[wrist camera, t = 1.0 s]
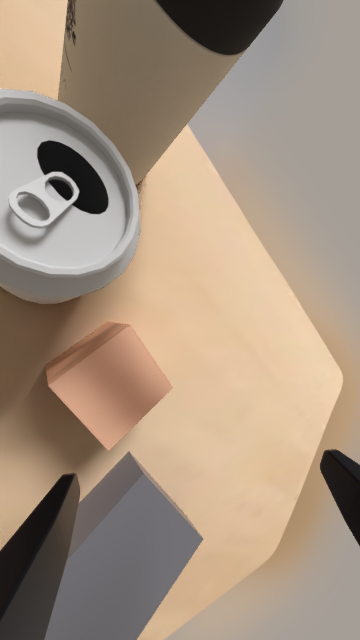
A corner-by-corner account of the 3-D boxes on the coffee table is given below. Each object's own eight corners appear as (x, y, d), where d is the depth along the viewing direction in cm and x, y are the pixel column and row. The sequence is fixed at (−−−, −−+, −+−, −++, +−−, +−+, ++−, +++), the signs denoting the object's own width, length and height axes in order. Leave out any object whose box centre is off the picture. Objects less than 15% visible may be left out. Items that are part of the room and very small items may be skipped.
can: (112, 260, 21) (185, 211, 11) (51, 323, 18) (70, 338, 8) (39, 187, 18) (43, 19, 8) (-47, 251, 15) (-210, 132, 5)
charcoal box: (100, 618, 22) (112, 675, 18) (16, 564, 18) (11, 623, 15) (181, 509, 26) (203, 539, 23) (127, 449, 23) (143, 473, 19)
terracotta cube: (90, 416, 20) (108, 451, 15) (44, 365, 18) (48, 385, 13) (142, 370, 23) (173, 387, 18) (107, 321, 21) (130, 324, 16)
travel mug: (160, 144, 23) (403, -185, 8) (127, 208, 21) (352, -44, 6) (83, 68, 19) (268, -889, 4) (36, 141, 18) (39, -995, 2)
